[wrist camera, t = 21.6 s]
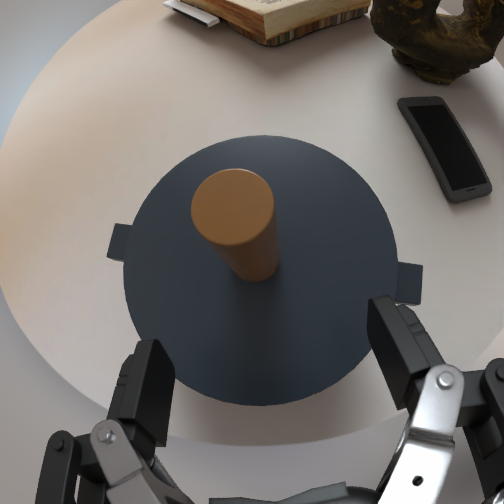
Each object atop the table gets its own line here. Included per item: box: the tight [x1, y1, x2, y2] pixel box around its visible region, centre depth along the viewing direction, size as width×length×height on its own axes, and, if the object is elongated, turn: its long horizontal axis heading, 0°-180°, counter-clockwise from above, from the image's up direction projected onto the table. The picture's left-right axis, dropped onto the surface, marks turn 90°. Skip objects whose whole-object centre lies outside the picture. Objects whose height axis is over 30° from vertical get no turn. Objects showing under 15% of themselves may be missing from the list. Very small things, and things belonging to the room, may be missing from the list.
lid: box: [123, 135, 398, 406], centre depth 13 cm, size 16×16×8 cm
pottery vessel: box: [370, 0, 504, 85], centre depth 21 cm, size 25×11×20 cm, turn 101°
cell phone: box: [397, 96, 492, 203], centre depth 26 cm, size 7×14×1 cm, turn 13°
